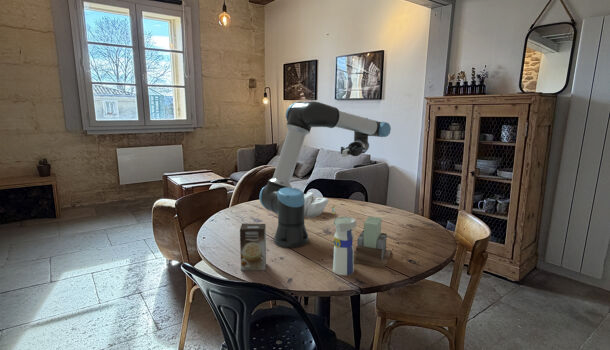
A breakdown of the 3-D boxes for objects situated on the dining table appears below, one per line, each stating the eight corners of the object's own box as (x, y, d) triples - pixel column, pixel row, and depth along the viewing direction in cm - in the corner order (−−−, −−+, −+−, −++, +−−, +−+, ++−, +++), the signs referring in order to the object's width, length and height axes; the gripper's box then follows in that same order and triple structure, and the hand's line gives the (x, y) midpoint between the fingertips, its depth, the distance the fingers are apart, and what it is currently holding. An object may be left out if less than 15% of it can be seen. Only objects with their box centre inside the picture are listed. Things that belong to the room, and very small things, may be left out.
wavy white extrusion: (264, 212, 193) (263, 194, 191) (277, 205, 208) (276, 188, 206) (321, 219, 180) (321, 200, 178) (330, 211, 195) (331, 193, 193)
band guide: (360, 247, 143) (360, 227, 141) (391, 252, 138) (392, 231, 136) (351, 261, 129) (351, 239, 128) (385, 267, 124) (386, 244, 123)
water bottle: (343, 278, 116) (344, 209, 112) (327, 269, 123) (327, 203, 119) (359, 271, 121) (361, 205, 117) (343, 263, 128) (345, 200, 123)
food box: (240, 271, 122) (238, 229, 119) (242, 263, 128) (241, 223, 125) (265, 270, 123) (264, 228, 119) (266, 262, 129) (265, 222, 126)
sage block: (367, 248, 138) (369, 216, 135) (380, 250, 136) (381, 217, 134) (362, 257, 130) (364, 222, 127) (375, 259, 128) (377, 224, 125)
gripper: (368, 156, 174) (357, 162, 152) (344, 154, 179) (330, 160, 157) (369, 141, 172) (357, 146, 151) (344, 140, 177) (330, 145, 156)
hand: (343, 153), depth 154 cm, fingers closed
